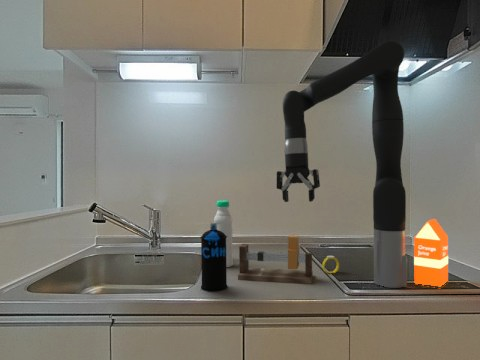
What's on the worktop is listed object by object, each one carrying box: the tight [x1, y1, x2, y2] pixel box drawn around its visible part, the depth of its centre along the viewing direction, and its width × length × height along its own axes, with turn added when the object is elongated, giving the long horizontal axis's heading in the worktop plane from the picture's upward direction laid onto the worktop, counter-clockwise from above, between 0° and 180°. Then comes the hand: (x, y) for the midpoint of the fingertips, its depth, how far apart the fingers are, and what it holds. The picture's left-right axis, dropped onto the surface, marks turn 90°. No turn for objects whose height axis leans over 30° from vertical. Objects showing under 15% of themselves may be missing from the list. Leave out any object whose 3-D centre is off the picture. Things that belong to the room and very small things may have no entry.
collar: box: [287, 234, 300, 270], centre depth 125 cm, size 3×6×10 cm, turn 166°
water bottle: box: [213, 200, 234, 268], centre depth 143 cm, size 7×7×25 cm
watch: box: [321, 255, 340, 274], centre depth 132 cm, size 6×3×6 cm, turn 105°
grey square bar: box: [246, 250, 306, 263], centre depth 126 cm, size 20×3×3 cm, turn 76°
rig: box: [237, 243, 314, 285], centre depth 126 cm, size 24×10×10 cm, turn 76°
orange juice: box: [413, 218, 449, 287], centre depth 118 cm, size 8×9×20 cm
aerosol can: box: [199, 222, 228, 292], centre depth 116 cm, size 8×8×20 cm
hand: (298, 201), depth 124 cm, fingers open, 8 cm apart
